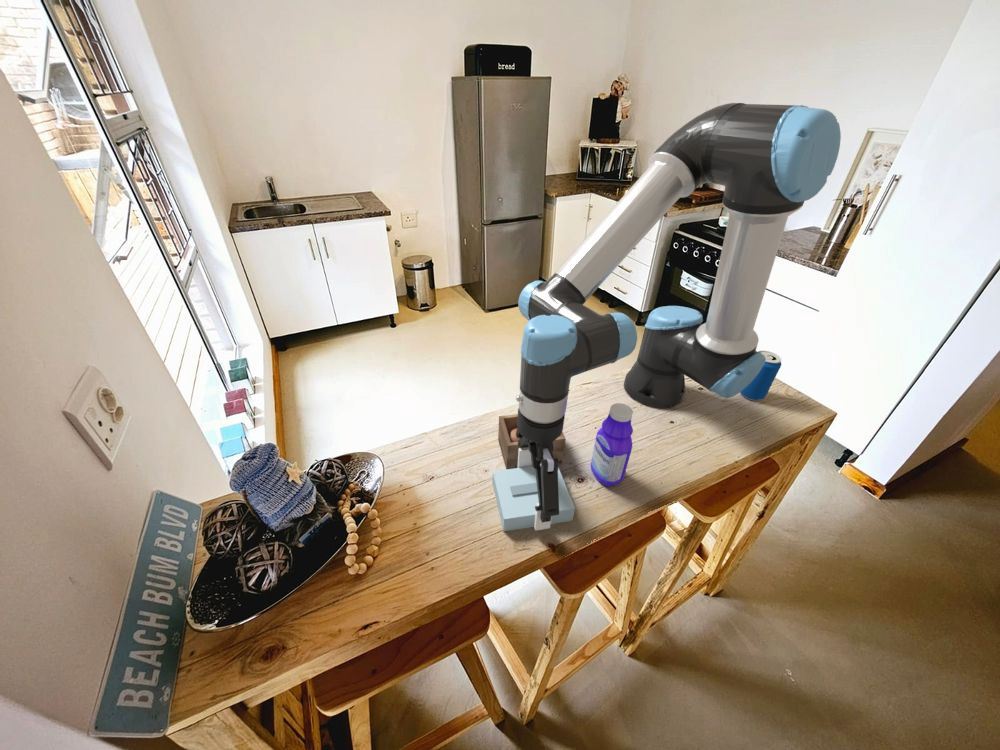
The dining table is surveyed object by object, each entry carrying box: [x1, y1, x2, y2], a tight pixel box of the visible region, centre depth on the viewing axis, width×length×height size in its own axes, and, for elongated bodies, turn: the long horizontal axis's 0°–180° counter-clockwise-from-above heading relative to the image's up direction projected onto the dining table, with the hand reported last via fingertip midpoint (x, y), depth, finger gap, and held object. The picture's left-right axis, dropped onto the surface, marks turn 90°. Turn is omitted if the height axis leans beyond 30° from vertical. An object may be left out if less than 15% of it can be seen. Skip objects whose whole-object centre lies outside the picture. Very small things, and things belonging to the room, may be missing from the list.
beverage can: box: [739, 350, 782, 402], centre depth 106 cm, size 6×6×12 cm
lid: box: [492, 466, 576, 532], centre depth 78 cm, size 13×11×4 cm
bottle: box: [590, 402, 634, 487], centre depth 80 cm, size 7×6×17 cm
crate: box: [497, 413, 567, 470], centre depth 88 cm, size 12×9×7 cm
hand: (532, 498), depth 78 cm, fingers open, 12 cm apart
